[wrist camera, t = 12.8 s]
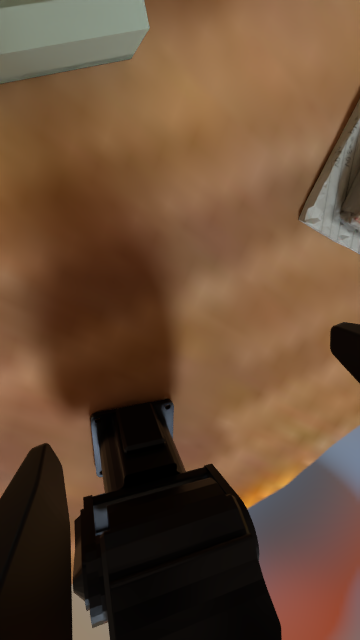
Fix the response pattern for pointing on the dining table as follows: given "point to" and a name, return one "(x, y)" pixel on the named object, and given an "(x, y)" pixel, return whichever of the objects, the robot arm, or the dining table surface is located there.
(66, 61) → the green square tray
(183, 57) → the dining table surface
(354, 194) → the packaged product
